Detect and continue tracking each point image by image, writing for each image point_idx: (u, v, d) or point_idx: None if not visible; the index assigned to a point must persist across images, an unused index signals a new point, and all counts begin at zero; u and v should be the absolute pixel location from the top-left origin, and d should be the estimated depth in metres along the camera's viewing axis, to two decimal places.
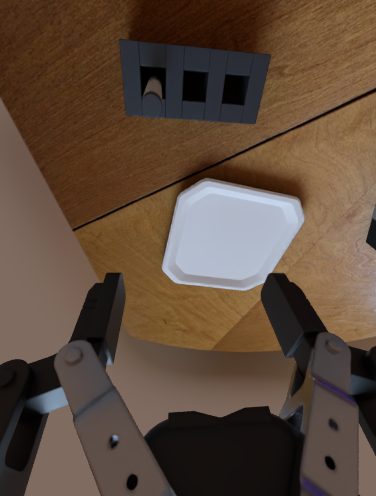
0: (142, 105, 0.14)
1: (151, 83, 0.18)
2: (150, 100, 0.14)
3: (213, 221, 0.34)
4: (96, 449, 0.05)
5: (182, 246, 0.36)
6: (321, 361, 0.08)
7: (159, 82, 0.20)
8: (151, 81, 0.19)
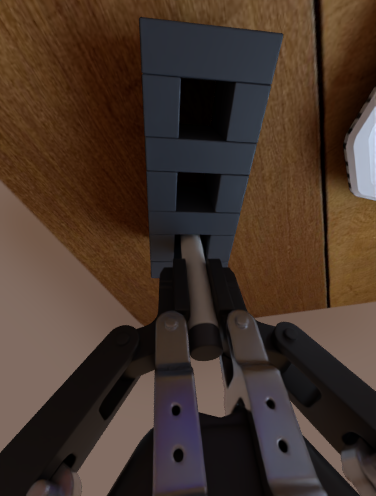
0: (203, 360, 0.09)
1: None
2: (198, 354, 0.09)
3: None
4: (162, 406, 0.06)
5: None
6: (239, 343, 0.08)
7: None
8: (181, 251, 0.14)
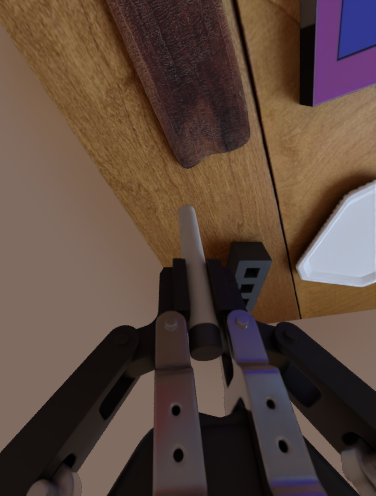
0: (203, 360, 0.09)
1: None
2: (199, 354, 0.09)
3: (334, 255, 0.40)
4: (162, 406, 0.06)
5: (346, 272, 0.43)
6: (239, 343, 0.08)
7: (184, 228, 0.15)
8: None
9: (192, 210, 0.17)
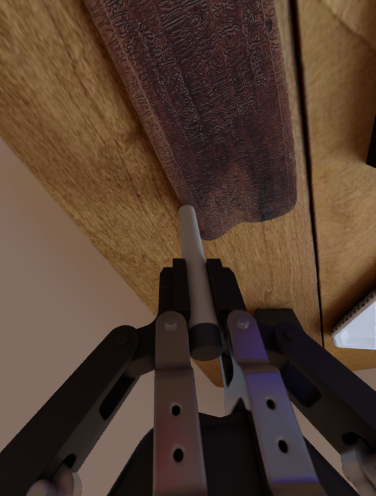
0: (203, 360, 0.09)
1: None
2: (199, 354, 0.09)
3: None
4: (162, 406, 0.06)
5: None
6: (239, 342, 0.08)
7: (184, 228, 0.15)
8: (181, 250, 0.14)
9: (192, 210, 0.17)
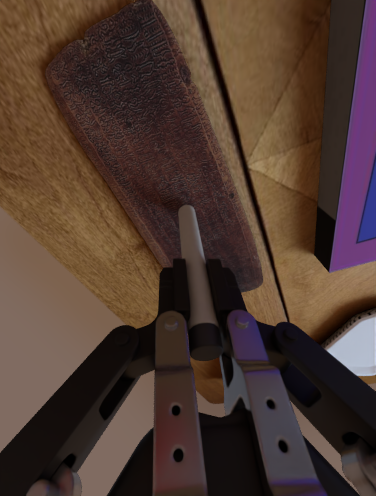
0: (203, 360, 0.09)
1: None
2: (199, 354, 0.09)
3: (343, 355, 0.39)
4: (162, 406, 0.06)
5: (355, 365, 0.43)
6: (239, 343, 0.08)
7: (184, 228, 0.15)
8: (181, 250, 0.14)
9: (192, 210, 0.17)
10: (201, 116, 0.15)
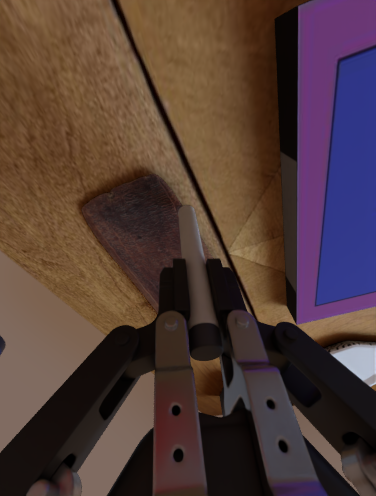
0: (203, 360, 0.09)
1: None
2: (199, 354, 0.09)
3: None
4: (162, 406, 0.06)
5: None
6: (239, 343, 0.08)
7: (184, 228, 0.15)
8: (181, 250, 0.14)
9: (192, 210, 0.17)
10: None
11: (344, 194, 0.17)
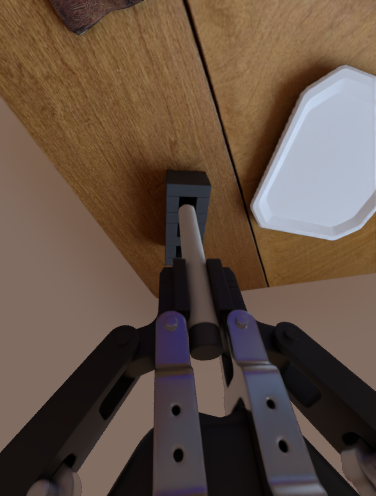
0: None
1: None
2: (199, 353, 0.09)
3: (297, 193, 0.32)
4: (162, 406, 0.06)
5: (315, 220, 0.35)
6: (239, 343, 0.08)
7: (184, 227, 0.15)
8: None
9: (192, 209, 0.17)
10: None
11: None
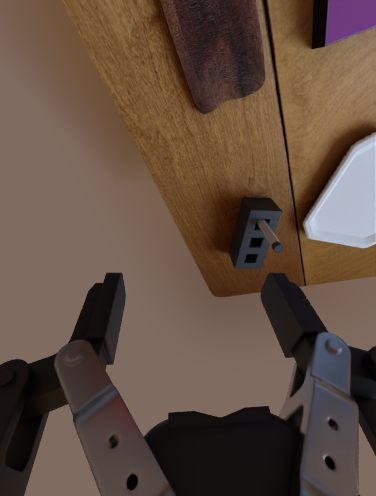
0: None
1: (261, 229, 0.36)
2: (276, 249, 0.32)
3: (339, 213, 0.42)
4: (96, 449, 0.05)
5: (351, 232, 0.45)
6: (321, 361, 0.08)
7: None
8: (258, 225, 0.38)
9: None
10: None
11: None
